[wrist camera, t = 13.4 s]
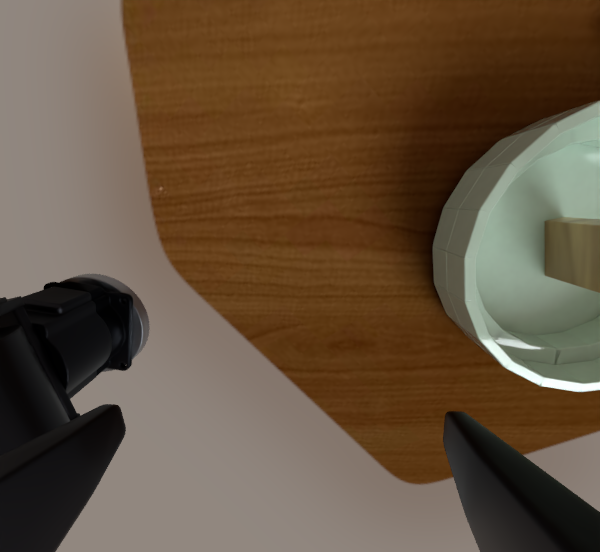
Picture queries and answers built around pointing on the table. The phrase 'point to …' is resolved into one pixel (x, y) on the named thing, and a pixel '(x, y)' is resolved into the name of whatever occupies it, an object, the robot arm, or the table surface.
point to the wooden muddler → (573, 251)
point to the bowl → (525, 251)
